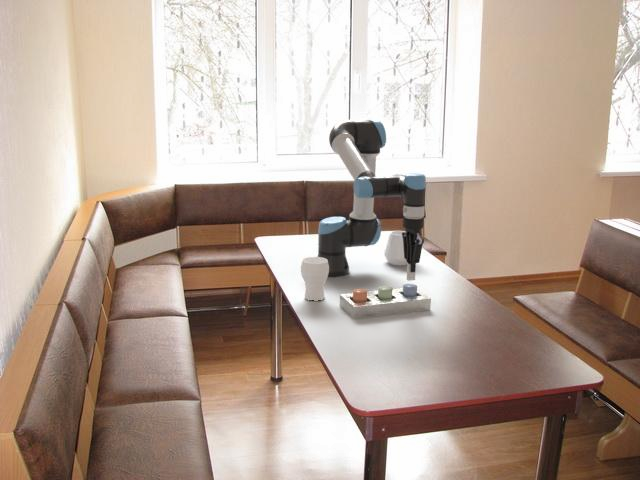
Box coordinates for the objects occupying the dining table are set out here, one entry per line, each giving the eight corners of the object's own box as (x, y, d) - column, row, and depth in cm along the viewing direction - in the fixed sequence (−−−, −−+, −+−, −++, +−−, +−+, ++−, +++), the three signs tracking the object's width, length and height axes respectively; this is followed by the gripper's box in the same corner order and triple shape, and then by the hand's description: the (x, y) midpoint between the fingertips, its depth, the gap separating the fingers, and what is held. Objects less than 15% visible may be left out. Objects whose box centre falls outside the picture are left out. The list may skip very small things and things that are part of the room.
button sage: (375, 300, 245) (375, 287, 243) (388, 298, 246) (388, 285, 245) (381, 304, 240) (381, 291, 239) (394, 303, 242) (395, 290, 240)
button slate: (400, 297, 248) (400, 284, 247) (412, 295, 250) (413, 283, 248) (406, 301, 243) (406, 288, 242) (419, 300, 245) (419, 287, 244)
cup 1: (325, 303, 247) (326, 265, 244) (297, 301, 249) (298, 263, 246) (330, 294, 257) (331, 257, 254) (304, 292, 259) (304, 255, 256)
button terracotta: (350, 302, 241) (350, 289, 240) (363, 301, 243) (363, 288, 242) (355, 307, 237) (356, 294, 235) (369, 306, 238) (369, 292, 237)
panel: (339, 305, 245) (339, 294, 244) (412, 297, 255) (413, 286, 254) (354, 319, 232) (354, 307, 231) (430, 310, 242) (430, 298, 241)
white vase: (418, 261, 304) (419, 231, 300) (405, 268, 293) (407, 237, 289) (391, 256, 311) (393, 227, 307) (378, 263, 300) (379, 233, 296)
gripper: (396, 214, 243) (393, 275, 249) (412, 221, 231) (409, 285, 237) (414, 212, 246) (411, 274, 251) (431, 219, 234) (428, 283, 239)
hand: (410, 279), depth 244 cm, fingers closed
